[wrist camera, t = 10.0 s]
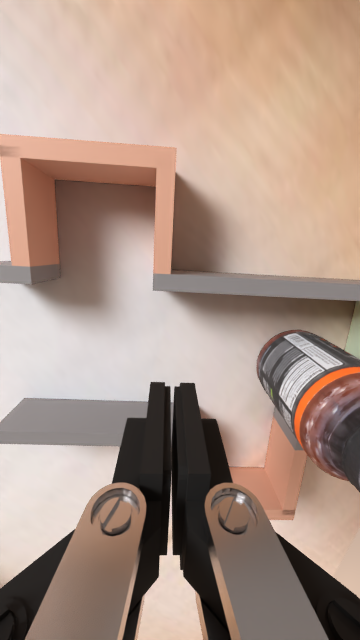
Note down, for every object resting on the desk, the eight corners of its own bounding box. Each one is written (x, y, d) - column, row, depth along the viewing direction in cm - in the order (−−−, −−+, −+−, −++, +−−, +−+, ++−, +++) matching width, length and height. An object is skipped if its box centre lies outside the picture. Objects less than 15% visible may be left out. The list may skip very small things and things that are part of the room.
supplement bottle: (341, 362, 21) (521, 479, 10) (285, 407, 22) (392, 559, 11) (295, 311, 20) (441, 380, 9) (238, 362, 21) (306, 479, 10)
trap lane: (-2, 158, 17) (-55, 129, 13) (396, 187, 18) (459, 169, 14) (32, 472, 23) (4, 517, 19) (325, 477, 24) (354, 520, 20)
